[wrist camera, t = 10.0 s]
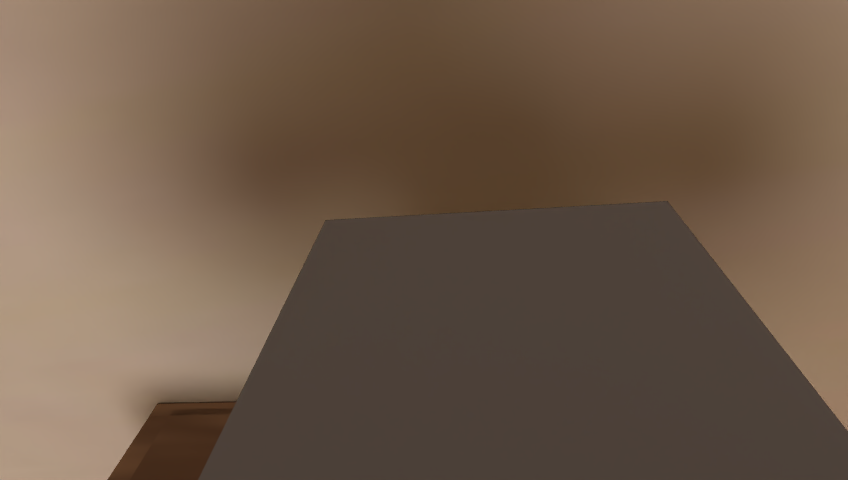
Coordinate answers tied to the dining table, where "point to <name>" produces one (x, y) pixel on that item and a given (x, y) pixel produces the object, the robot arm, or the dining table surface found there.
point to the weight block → (523, 359)
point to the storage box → (174, 442)
